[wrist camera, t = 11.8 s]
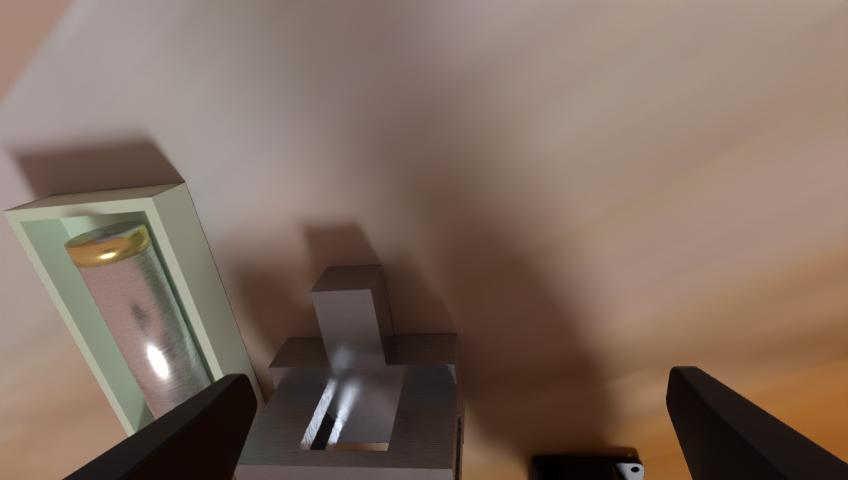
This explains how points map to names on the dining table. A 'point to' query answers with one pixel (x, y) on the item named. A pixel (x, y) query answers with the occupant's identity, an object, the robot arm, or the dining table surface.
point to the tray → (183, 267)
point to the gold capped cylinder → (140, 312)
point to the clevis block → (359, 394)
